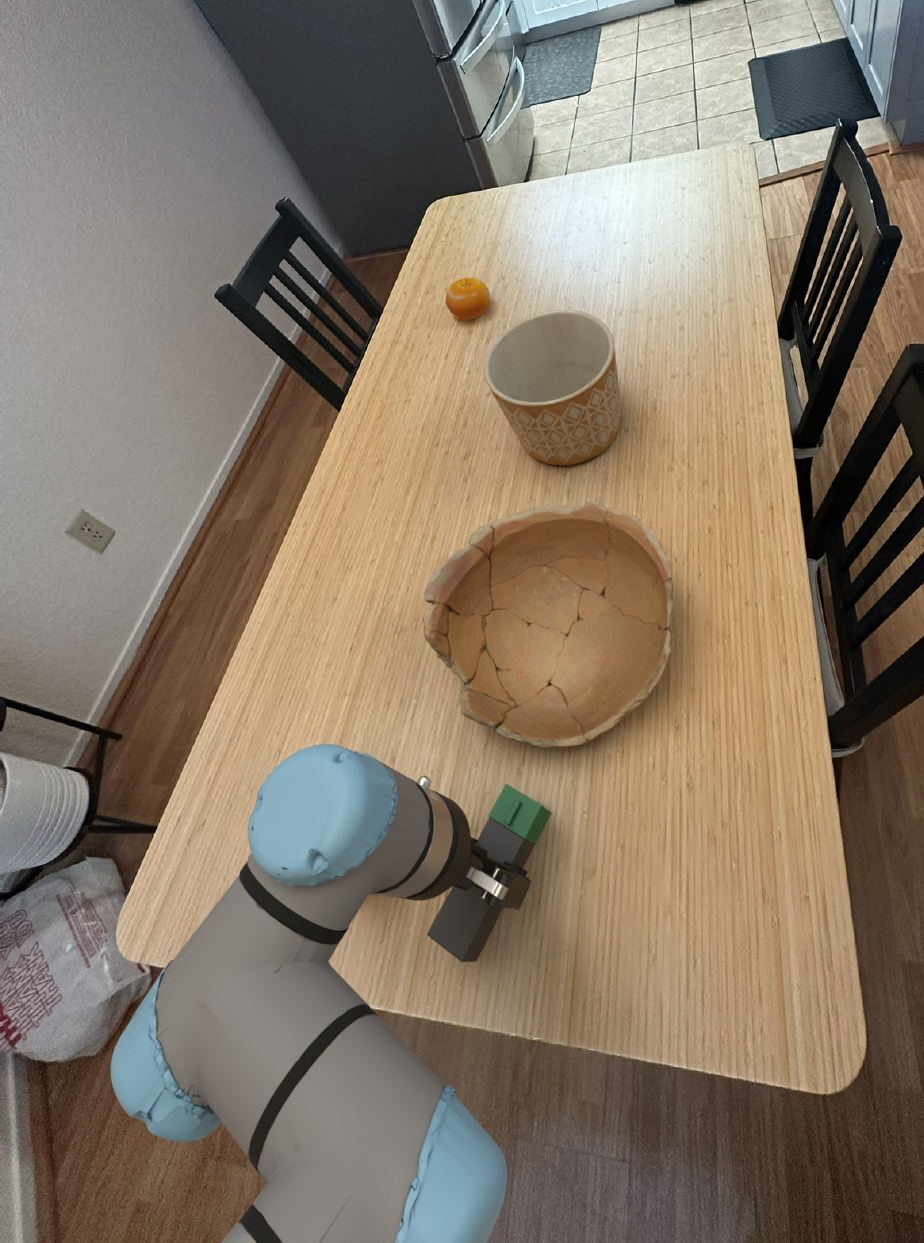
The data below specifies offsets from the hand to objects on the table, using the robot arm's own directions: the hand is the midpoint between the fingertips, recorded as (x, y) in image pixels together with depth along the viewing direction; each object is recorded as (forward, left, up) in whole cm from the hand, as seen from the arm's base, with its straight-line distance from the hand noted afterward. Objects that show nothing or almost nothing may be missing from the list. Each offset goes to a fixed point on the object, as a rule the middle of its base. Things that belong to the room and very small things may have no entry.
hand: (498, 869), depth 68 cm
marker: (0, 0, 0) cm, 0 cm away
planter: (+58, +24, -3) cm, 63 cm away
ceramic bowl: (+26, +7, -3) cm, 27 cm away
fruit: (+78, +58, -3) cm, 97 cm away
